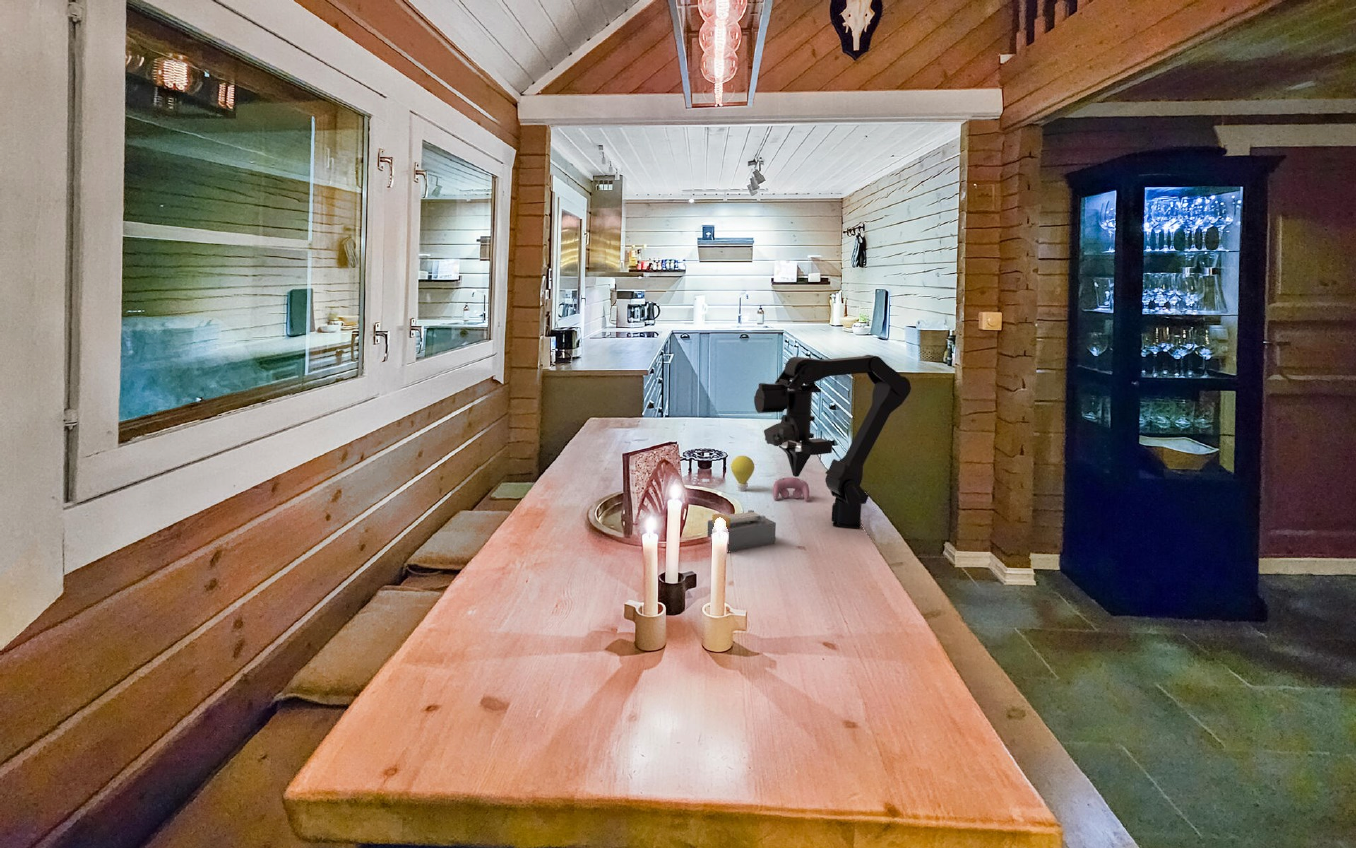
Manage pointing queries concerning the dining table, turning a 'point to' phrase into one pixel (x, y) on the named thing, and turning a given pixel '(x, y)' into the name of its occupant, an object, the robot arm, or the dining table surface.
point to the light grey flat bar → (743, 517)
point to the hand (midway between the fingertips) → (795, 476)
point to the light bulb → (742, 471)
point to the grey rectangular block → (747, 532)
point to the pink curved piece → (794, 483)
